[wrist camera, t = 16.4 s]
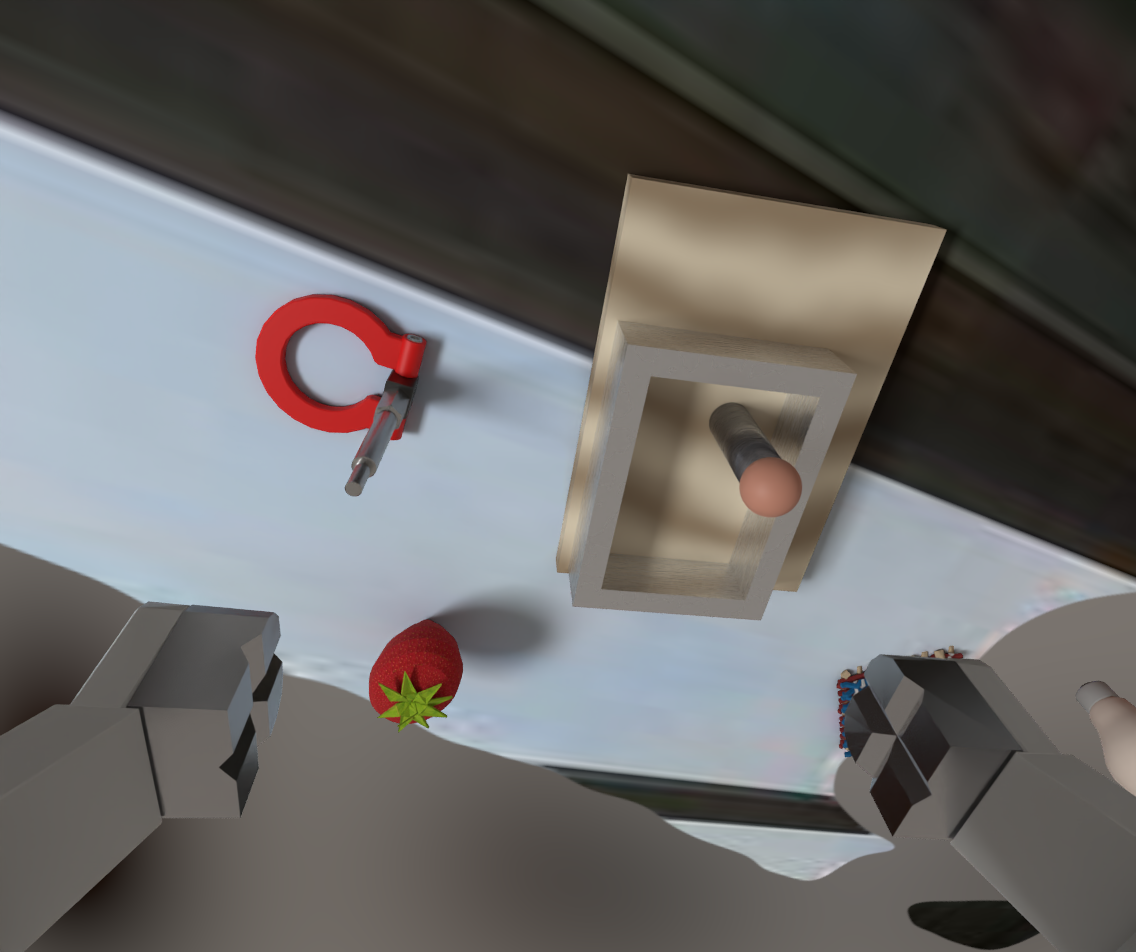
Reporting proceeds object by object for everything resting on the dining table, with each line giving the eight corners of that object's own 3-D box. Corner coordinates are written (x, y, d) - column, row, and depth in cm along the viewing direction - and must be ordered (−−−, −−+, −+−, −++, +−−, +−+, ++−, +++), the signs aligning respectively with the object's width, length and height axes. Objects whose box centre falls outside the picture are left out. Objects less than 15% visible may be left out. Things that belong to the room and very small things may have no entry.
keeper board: (628, 173, 37) (669, 209, 28) (932, 224, 40) (1066, 273, 30) (555, 559, 50) (566, 675, 40) (789, 578, 52) (852, 692, 43)
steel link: (617, 320, 40) (627, 344, 36) (828, 348, 42) (857, 374, 38) (568, 568, 48) (572, 606, 45) (743, 582, 50) (760, 620, 47)
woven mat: (950, 719, 63) (963, 737, 61) (835, 744, 64) (844, 763, 62) (957, 638, 58) (971, 656, 56) (831, 666, 58) (841, 684, 57)
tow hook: (253, 402, 43) (401, 445, 44) (149, 514, 31) (352, 566, 33) (272, 271, 39) (433, 324, 41) (162, 345, 28) (391, 414, 29)
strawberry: (364, 639, 52) (336, 750, 44) (415, 573, 50) (395, 678, 41) (432, 669, 55) (418, 781, 46) (484, 607, 52) (479, 714, 43)
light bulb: (1035, 710, 63) (1128, 825, 53) (1069, 657, 59) (1175, 769, 50) (1100, 711, 63) (1204, 824, 54) (1137, 659, 60) (1255, 769, 51)
